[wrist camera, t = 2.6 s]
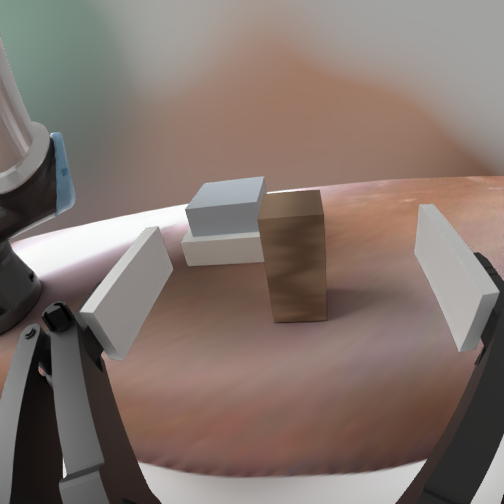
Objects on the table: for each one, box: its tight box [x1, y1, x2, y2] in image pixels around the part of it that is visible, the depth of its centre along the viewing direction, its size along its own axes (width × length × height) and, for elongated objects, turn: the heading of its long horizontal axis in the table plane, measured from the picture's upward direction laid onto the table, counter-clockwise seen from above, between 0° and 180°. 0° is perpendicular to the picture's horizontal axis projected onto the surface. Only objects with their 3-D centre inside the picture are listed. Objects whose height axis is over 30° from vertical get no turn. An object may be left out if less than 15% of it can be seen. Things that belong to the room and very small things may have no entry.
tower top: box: [185, 176, 267, 237], centre depth 40 cm, size 9×9×4 cm
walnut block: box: [257, 190, 327, 322], centre depth 27 cm, size 5×5×11 cm
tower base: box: [180, 228, 264, 266], centre depth 43 cm, size 12×12×4 cm
